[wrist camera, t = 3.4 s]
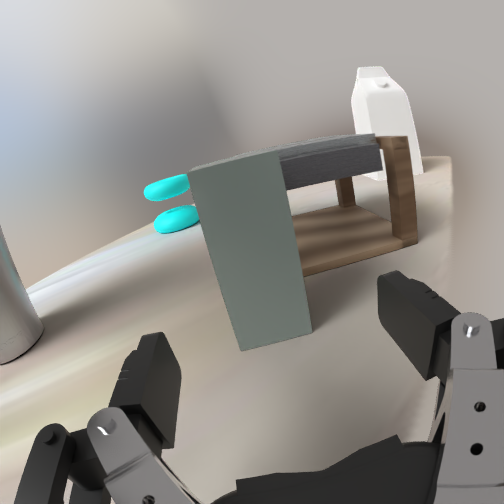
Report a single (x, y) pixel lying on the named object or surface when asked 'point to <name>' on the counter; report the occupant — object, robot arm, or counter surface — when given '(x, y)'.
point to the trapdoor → (327, 159)
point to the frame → (361, 218)
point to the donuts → (176, 216)
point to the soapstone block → (253, 246)
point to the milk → (384, 113)
